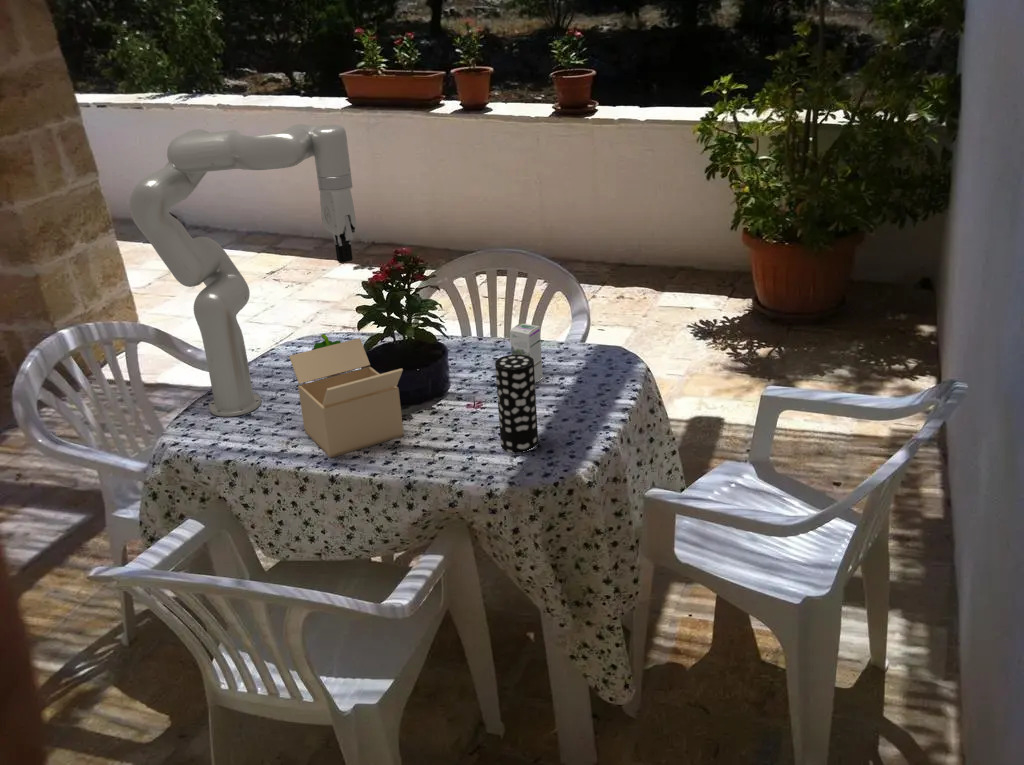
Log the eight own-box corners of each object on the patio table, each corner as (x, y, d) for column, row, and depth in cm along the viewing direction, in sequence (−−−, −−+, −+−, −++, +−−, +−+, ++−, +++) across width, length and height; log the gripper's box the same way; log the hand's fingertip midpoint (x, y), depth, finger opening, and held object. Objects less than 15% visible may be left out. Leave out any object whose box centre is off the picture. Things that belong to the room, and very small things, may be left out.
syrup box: (543, 378, 266) (541, 325, 260) (531, 387, 261) (528, 332, 255) (524, 374, 269) (521, 321, 263) (512, 383, 264) (508, 329, 258)
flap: (299, 383, 239) (299, 384, 240) (370, 364, 247) (369, 365, 248) (289, 355, 241) (289, 356, 241) (360, 338, 249) (359, 338, 249)
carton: (305, 432, 245) (297, 385, 240) (375, 412, 253) (369, 366, 248) (330, 458, 232) (323, 409, 227) (403, 435, 240) (398, 388, 235)
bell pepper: (348, 375, 275) (343, 339, 271) (317, 379, 274) (311, 344, 270) (345, 363, 283) (341, 329, 279) (315, 367, 281) (310, 333, 277)
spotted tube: (525, 456, 227) (520, 371, 219) (493, 448, 232) (487, 365, 224) (545, 440, 234) (540, 358, 226) (513, 433, 238) (508, 352, 230)
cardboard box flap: (395, 384, 236) (396, 386, 235) (322, 404, 228) (323, 406, 228) (401, 368, 230) (402, 370, 230) (326, 388, 222) (327, 390, 222)
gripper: (307, 179, 239) (318, 257, 246) (331, 190, 227) (342, 271, 234) (338, 174, 242) (347, 250, 249) (363, 184, 230) (373, 265, 237)
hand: (345, 260), depth 242 cm, fingers closed
